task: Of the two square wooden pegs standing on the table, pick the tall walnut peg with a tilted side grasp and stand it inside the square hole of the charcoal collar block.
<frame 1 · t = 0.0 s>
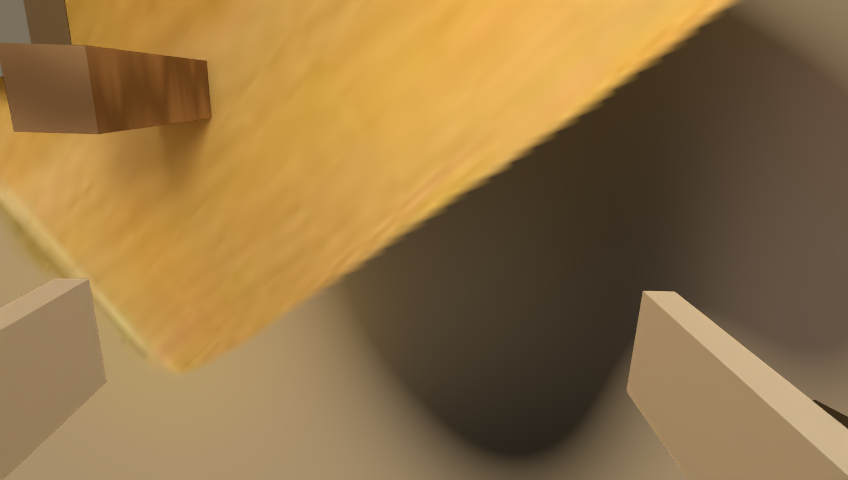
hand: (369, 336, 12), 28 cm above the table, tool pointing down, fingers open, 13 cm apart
long peg: (181, 88, 37), on the table
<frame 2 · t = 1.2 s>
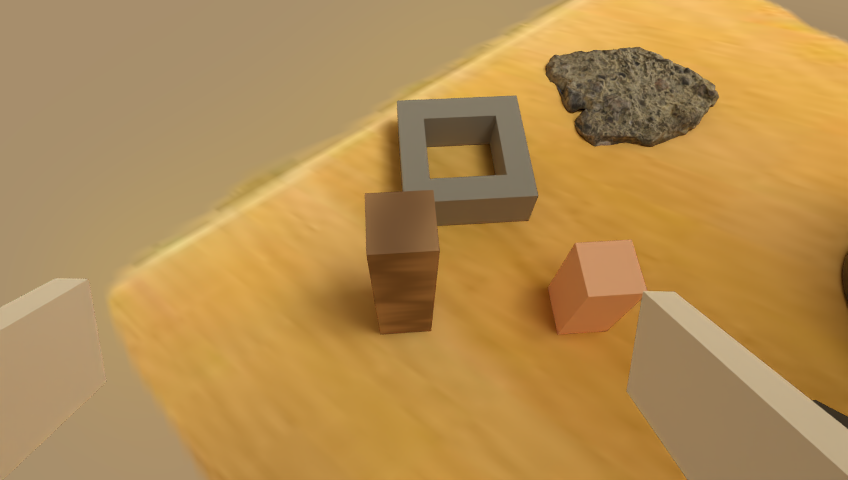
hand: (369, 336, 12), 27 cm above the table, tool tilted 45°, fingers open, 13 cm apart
stone slab: (629, 97, 53), on the table
collar: (460, 173, 47), on the table
long peg: (404, 308, 41), on the table
short peg: (576, 309, 41), on the table
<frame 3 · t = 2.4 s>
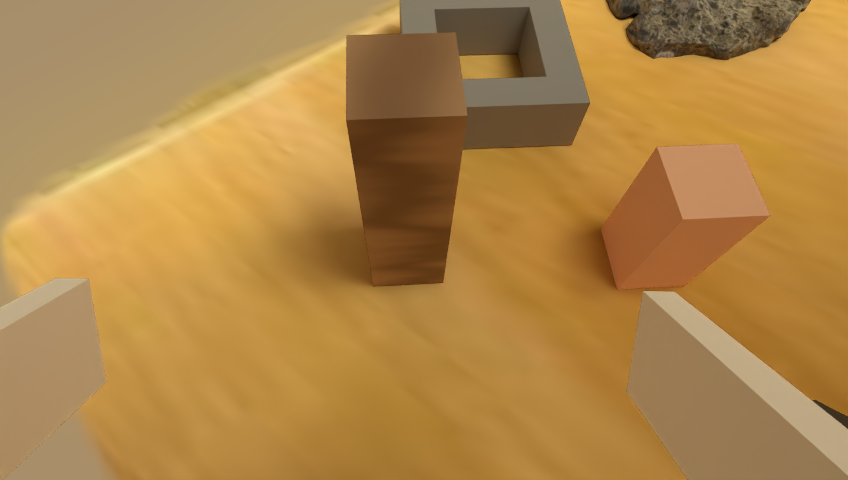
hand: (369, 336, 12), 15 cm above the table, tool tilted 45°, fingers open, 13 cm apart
stone slab: (692, 5, 42), on the table
collar: (480, 87, 36), on the table
long peg: (406, 253, 30), on the table
short peg: (641, 256, 30), on the table
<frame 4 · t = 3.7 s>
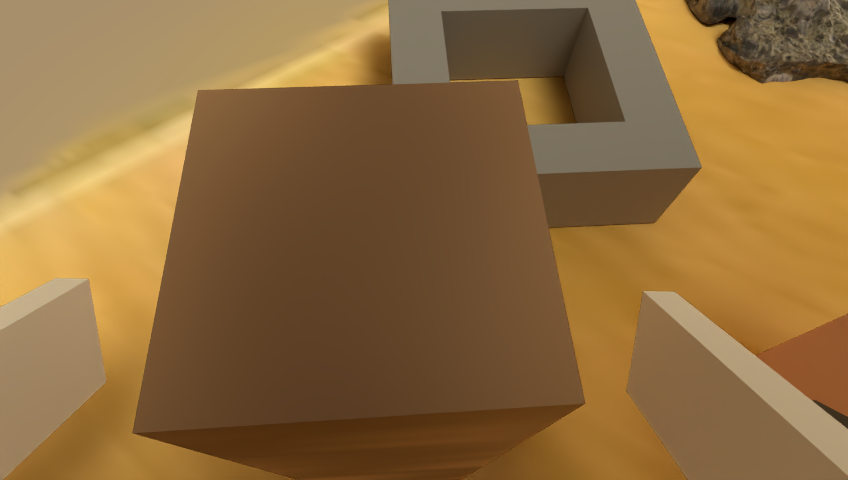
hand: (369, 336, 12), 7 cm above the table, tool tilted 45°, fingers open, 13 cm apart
stone slab: (803, 5, 30), on the table
collar: (510, 128, 24), on the table
long peg: (395, 422, 18), on the table
short peg: (789, 426, 18), on the table
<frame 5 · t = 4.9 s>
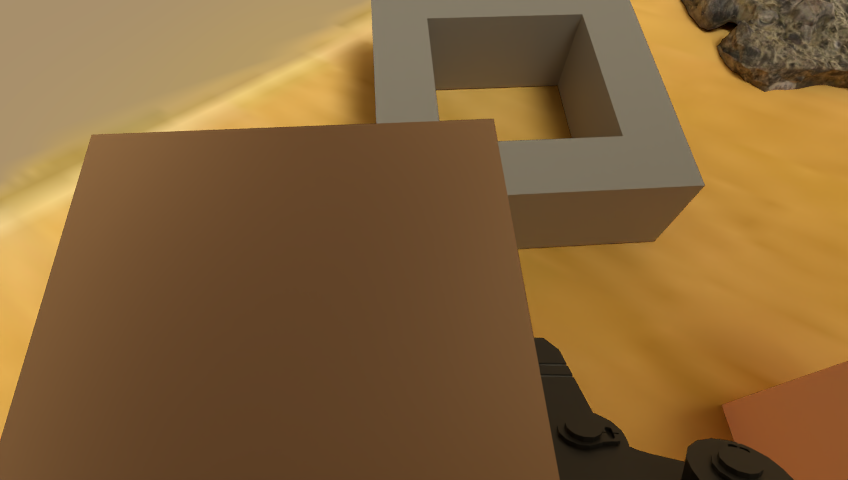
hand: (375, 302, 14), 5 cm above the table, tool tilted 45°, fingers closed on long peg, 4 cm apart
stone slab: (805, 9, 29), on the table
collar: (501, 140, 23), on the table
long peg: (377, 463, 16), on the table, touching gripper
short peg: (800, 462, 17), on the table
when the fingers open (7 cm above the table, at t = 9.4 s): long peg drops 2 cm, resting in collar.
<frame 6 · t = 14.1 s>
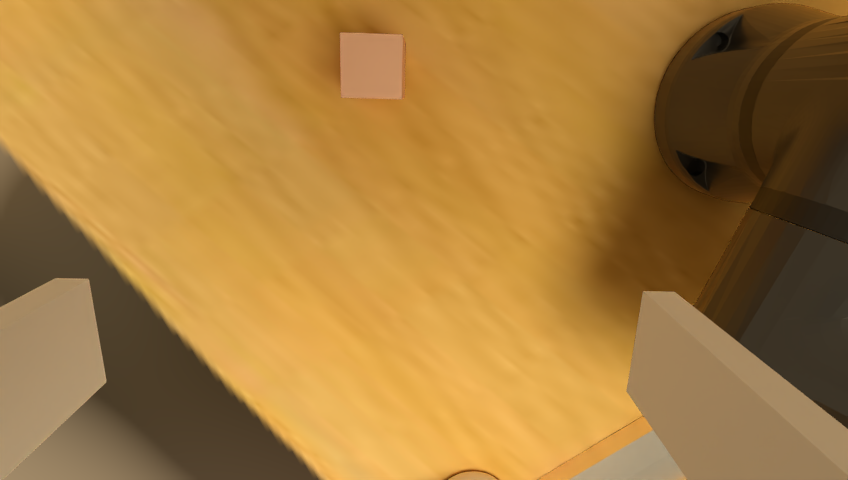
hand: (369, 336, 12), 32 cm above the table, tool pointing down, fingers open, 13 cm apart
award: (648, 452, 52), on the table
short peg: (380, 70, 41), on the table
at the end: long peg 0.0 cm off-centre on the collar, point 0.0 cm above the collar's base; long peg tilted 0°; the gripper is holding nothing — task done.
